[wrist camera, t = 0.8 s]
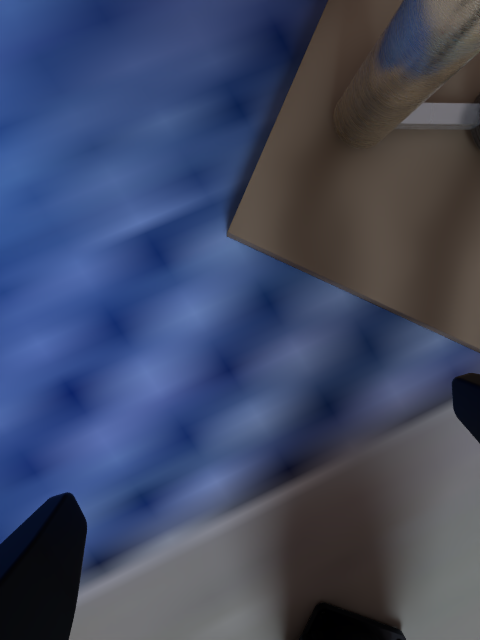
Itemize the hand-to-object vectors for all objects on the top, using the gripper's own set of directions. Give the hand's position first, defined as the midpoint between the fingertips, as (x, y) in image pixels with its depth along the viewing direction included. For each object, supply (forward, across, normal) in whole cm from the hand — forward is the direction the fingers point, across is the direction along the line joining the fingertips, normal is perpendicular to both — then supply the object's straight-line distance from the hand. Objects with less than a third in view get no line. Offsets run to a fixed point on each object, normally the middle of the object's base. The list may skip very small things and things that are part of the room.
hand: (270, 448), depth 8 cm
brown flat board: (+14, -16, -3) cm, 21 cm away
